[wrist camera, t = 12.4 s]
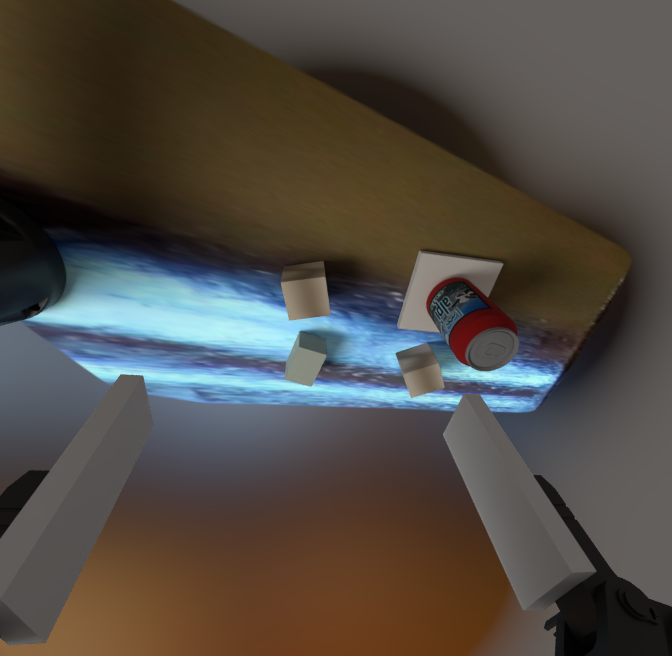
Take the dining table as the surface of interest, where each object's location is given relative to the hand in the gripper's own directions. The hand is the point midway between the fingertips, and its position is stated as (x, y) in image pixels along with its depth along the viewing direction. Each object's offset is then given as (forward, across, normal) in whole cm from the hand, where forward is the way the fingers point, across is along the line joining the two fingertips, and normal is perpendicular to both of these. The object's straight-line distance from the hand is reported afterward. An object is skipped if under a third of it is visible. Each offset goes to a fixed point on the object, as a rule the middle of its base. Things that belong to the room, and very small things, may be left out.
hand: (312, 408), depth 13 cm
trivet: (+28, +20, -6) cm, 35 cm away
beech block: (+28, +1, -7) cm, 29 cm away
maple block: (+28, +19, -18) cm, 38 cm away
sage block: (+28, +2, -18) cm, 33 cm away
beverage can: (+27, +20, -6) cm, 34 cm away
